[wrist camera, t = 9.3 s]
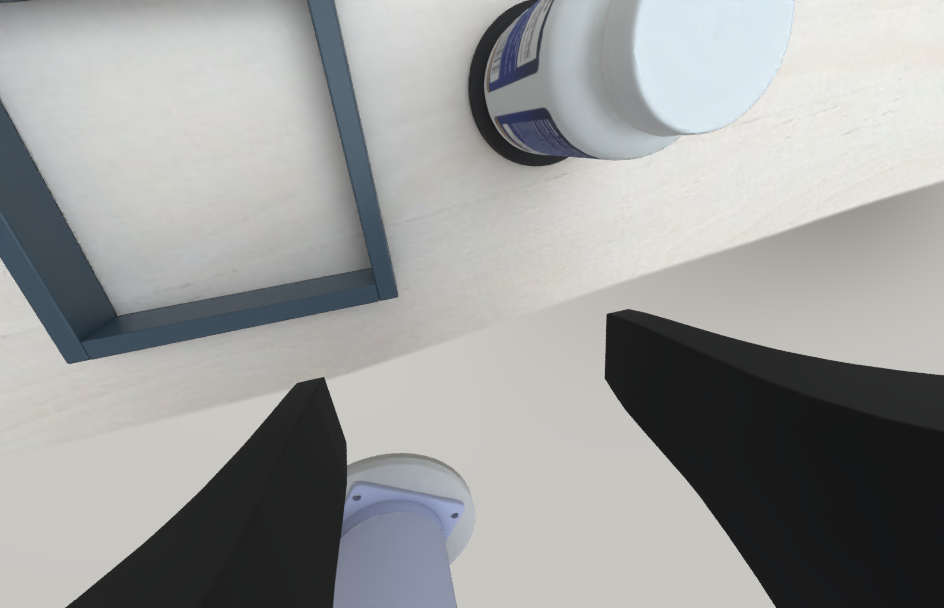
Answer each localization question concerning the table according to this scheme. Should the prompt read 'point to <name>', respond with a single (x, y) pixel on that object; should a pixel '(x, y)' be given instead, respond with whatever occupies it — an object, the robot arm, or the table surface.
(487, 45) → the coaster
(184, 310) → the square picture frame
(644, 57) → the pill bottle
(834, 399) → the robot arm
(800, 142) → the table surface
